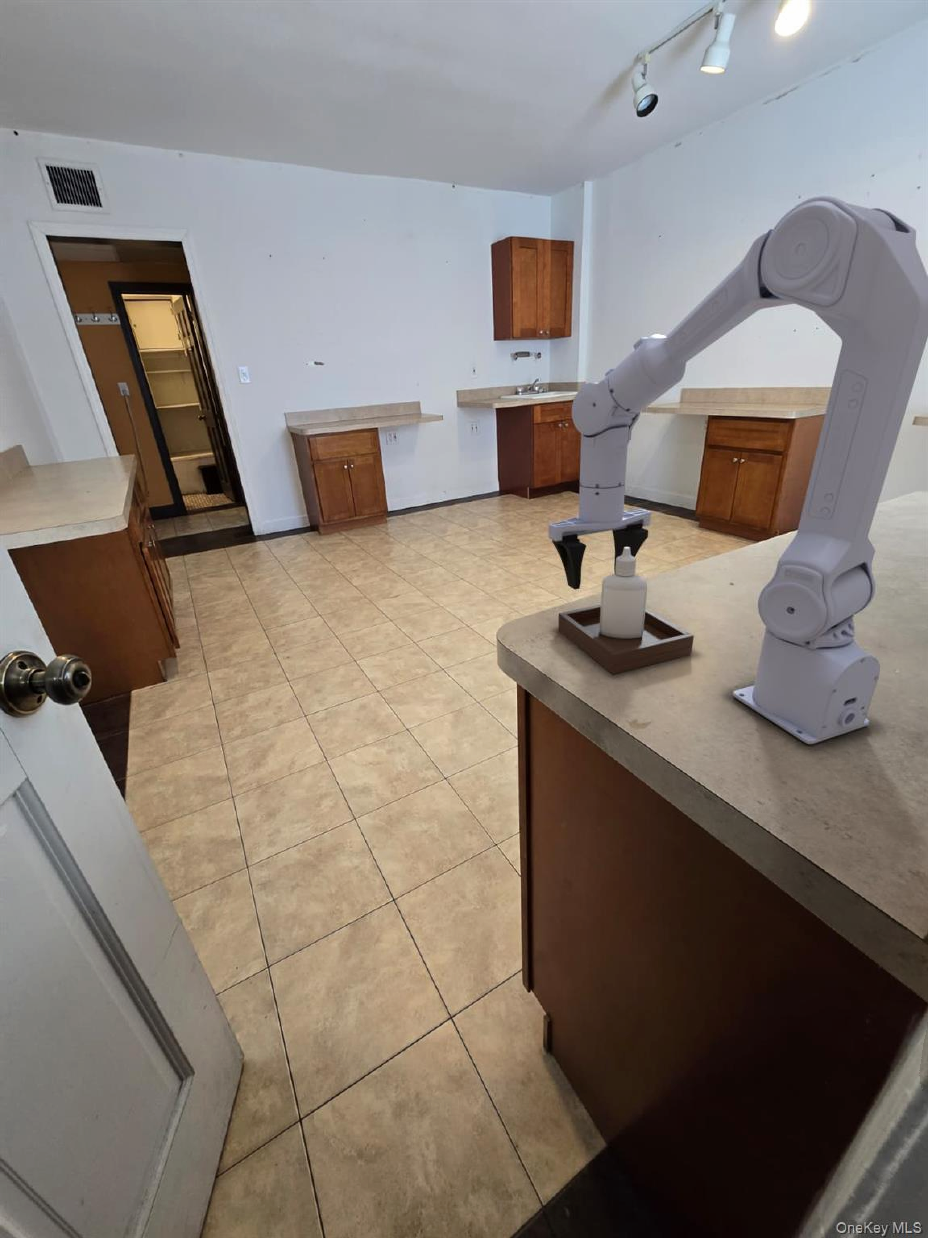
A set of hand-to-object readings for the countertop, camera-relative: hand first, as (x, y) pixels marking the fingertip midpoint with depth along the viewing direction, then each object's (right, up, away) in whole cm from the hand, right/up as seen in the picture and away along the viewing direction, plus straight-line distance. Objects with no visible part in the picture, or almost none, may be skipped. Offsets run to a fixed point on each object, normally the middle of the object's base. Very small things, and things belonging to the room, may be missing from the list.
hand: (597, 582), depth 72 cm
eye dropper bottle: (+2, -7, -3) cm, 8 cm away
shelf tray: (+2, -8, -3) cm, 9 cm away
